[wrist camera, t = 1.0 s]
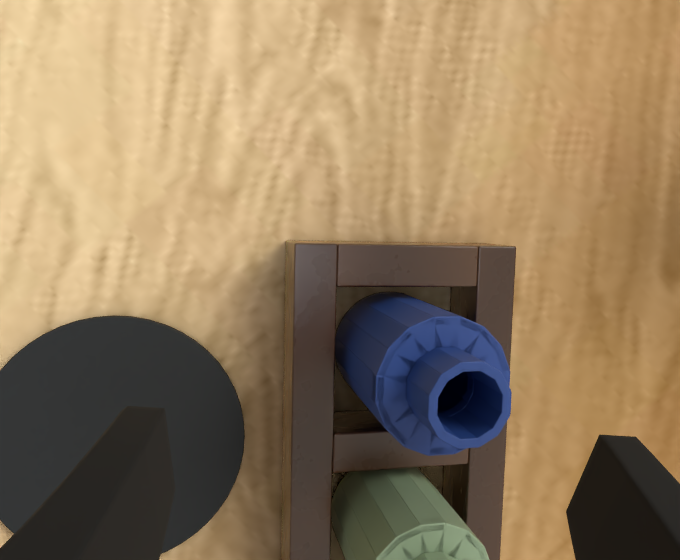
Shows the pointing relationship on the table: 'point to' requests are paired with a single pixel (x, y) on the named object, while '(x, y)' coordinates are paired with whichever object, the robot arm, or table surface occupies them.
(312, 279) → the bottle rack
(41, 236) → the table surface
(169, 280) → the table surface
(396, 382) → the blue bottle
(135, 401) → the coaster
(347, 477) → the sage bottle
